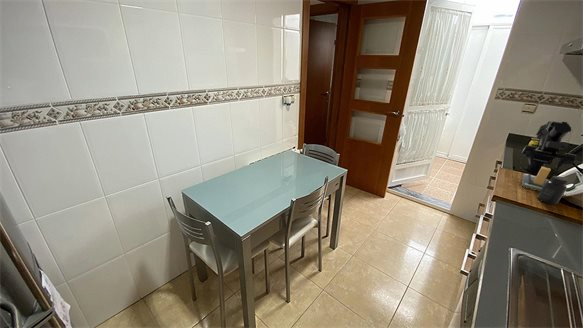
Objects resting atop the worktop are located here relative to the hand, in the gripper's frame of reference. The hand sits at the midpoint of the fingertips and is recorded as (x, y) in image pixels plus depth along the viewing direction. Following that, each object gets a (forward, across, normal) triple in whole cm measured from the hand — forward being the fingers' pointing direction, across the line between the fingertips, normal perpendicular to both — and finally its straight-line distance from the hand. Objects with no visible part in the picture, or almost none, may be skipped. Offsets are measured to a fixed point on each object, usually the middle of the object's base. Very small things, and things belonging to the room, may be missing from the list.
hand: (542, 168), depth 120 cm
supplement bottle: (+20, +4, -8) cm, 22 cm away
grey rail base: (+8, 0, +3) cm, 9 cm away
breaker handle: (+10, 0, -1) cm, 10 cm away
